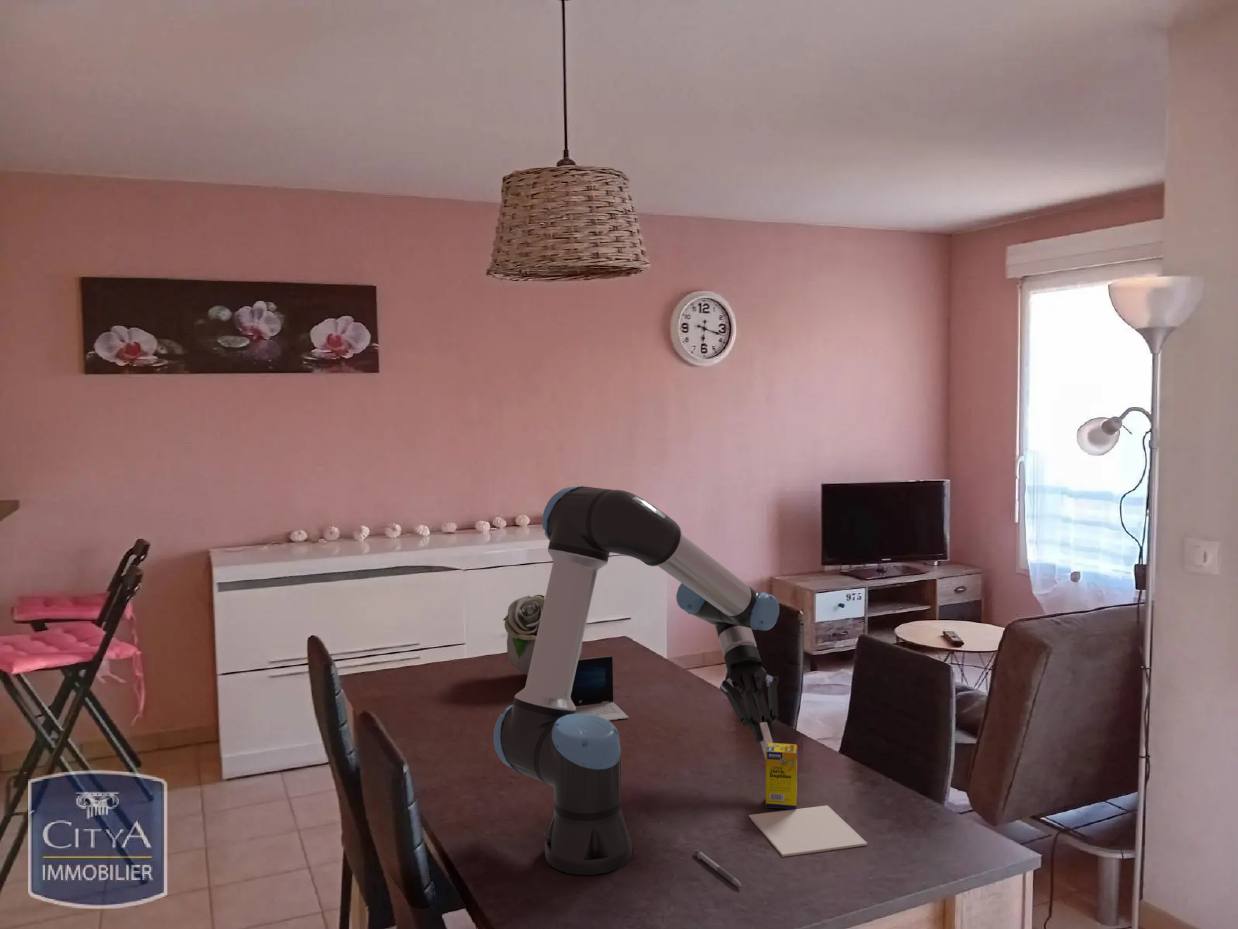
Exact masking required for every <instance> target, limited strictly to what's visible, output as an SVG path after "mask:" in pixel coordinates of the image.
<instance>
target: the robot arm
mask: <svg viewBox="0 0 1238 929" xmlns="http://www.w3.org/2000/svg"><path fill="white" fill-rule="evenodd" d="M541 522H542V523H541V524H542V529H543V530H544V535H545V537H546V538H547V539H548V542H549V543H548V547H547V553H548V554H549V556H550V558H551V559H552V565H551V570H550V574H549V580H548V584H547V589H546V591H545V592H546V594H545V595H544V596H545V601H544V605H543V610H542V614H541V619H540V623H539V628H538V632H537V637H536V641H535V646H534V650H533V655H532V659H531V663H530V668H529V672H528V675H527V678H526V682H525V687H524V688H523V689H521V690H520V691H519V692H517V693H516V694H515V695H514V698H513V702H512V704H511V705H509V706H507V707H506V708H505V709H504V710H503V711H504V712H503V713H500V715H499V716H498V718H497V720H496V721H495V722H496V723H495V726H494V729H493V746H494V750H495V752H496V754H497V756H498V758H499V759H500V761H501V762H502V763H503V764H504V765H505V766H507V767H509V768H511V769H512V770H513V771H515V772H516V773H518V774H519V775H525V776H527V777H530V778H532V779H534V780H537V781H539V782H541V783H544V784H546V785H549V786H550V787H552V788H553V800H554V801H553V802H554V803H553V804H554V809H553V810H554V813H553V816H552V820H551V822H550V825H549V828H548V832H547V836H546V838H545V843H544V856H545V860H546V862H547V863H548V865H550V866H551V867H552V868H554V869H556V870H557V871H559V872H563V873H565V874H570V875H577V876H596V875H602V874H605V873H606V874H607V873H610V872H613V871H616V870H619V869H620V868H622V867H623V866H625V865H626V864H627V863H628V862H629V861H630V859H631V857H632V854H633V853H632V852H633V851H632V847H633V846H632V838H631V835H630V834H629V830H628V827H627V824H626V820H625V817H624V815H623V812H622V800H621V798H622V797H621V796H622V794H621V793H622V790H621V789H622V788H621V785H622V775H621V774H622V768H621V767H622V762H621V761H622V748H621V745H620V744H621V743H620V735H619V731H618V729H617V727H616V726H615V725H614V723H612V721H608V720H606V719H604V718H602V717H599V716H596V715H585V714H575V711H576V707H575V705H574V704H573V702H572V700H571V697H570V696H571V691H572V687H573V682H574V677H575V673H576V668H577V664H578V659H579V654H580V650H581V645H582V646H583V639H584V636H585V635H584V634H585V630H586V627H585V626H587V621H588V617H589V611H590V607H591V603H592V598H593V595H594V594H593V593H594V588H595V584H596V580H597V574H598V572H599V570H601V569H602V568H603V567H605V566H606V565H607V564H608V562H609V558H610V553H611V554H612V553H613V554H618V555H624V556H626V557H631V558H635V559H637V560H639V561H641V562H642V563H644V564H645V565H647V566H649V567H658V568H660V569H661V570H663V571H664V572H665V573H667V574H668V575H669V576H672V577H673V578H674V579H675V580H677V581H678V582H679V583H680V584H679V586H678V588H677V591H676V594H675V595H676V599H675V600H676V603H677V605H678V607H679V608H680V609H682V610H683V611H685V612H686V613H687V614H688V615H692V616H694V617H697V618H698V619H700V620H703V621H705V622H707V623H709V624H711V625H713V626H714V627H715V632H716V634H717V637H718V641H719V645H720V648H721V653H722V655H723V660H724V664H725V667H726V670H727V673H728V674H727V679H726V680H722V681H721V683H720V684H721V685H720V686H719V690H720V691H721V692H722V693H723V694H724V695H725V696H726V698H727V700H728V702H729V703H730V705H731V707H732V709H733V710H734V712H735V714H736V716H737V718H738V719H739V722H740V724H741V726H743V727H747V726H748V727H749V729H750V730H752V732H753V736H754V739H755V741H756V743H760V745H761V749H762V751H763V752H762V754H763V756H764V759H765V760H766V749H767V743H774V739H775V736H776V734H775V730H774V728H773V725H772V724H775V722H776V721H777V720H778V718H779V702H778V686H777V685H778V683H779V680H780V678H779V675H778V676H777V675H774V676H772V675H770V674H768V672H767V671H766V669H764V667H763V662H762V659H761V656H760V652H759V649H758V647H757V642H756V639H755V636H754V632H753V630H755V631H756V630H759V631H769V630H771V629H772V628H774V626H775V624H777V621H778V617H779V615H780V605H779V602H778V599H777V598H776V597H775V596H774V595H773V594H769V593H766V592H763V591H762V592H760V591H758V590H757V591H756V590H754V588H753V587H751V586H749V584H747V583H745V581H743V580H742V579H740V578H739V577H738V576H737V575H735V574H734V573H732V572H731V571H730V570H729V569H728V568H726V567H725V566H724V565H722V564H721V563H720V562H718V561H717V560H716V559H715V558H713V556H711V555H710V554H708V553H707V552H706V551H704V550H703V549H702V548H700V546H698V545H697V544H695V543H694V542H693V541H692V540H691V539H690V538H688V537H687V536H686V535H684V534H682V529H681V527H680V524H678V523H677V521H675V520H674V519H672V518H671V517H670V516H668V515H667V514H666V513H665V512H663V511H662V510H660V509H659V508H658V507H656V506H655V505H653V504H652V503H650V502H648V501H647V500H645V499H644V498H642V497H640V496H638V495H637V494H634V493H632V492H630V491H626V490H621V489H611V488H610V489H607V488H601V487H592V486H585V485H584V486H583V485H581V486H570V487H565V488H562V489H560V490H559V491H557V492H556V493H555V494H553V495H552V496H551V498H550V499H549V500H548V501H547V503H546V504H545V507H544V510H543V513H542V521H541ZM765 682H766V683H765ZM764 683H765V684H766V687H768V688H767V697H768V704H767V701H766V697H765V693H764V688H763V686H764ZM736 689H737V691H739V692H740V695H741V698H740V697H739V694H738V693H737V691H736ZM741 699H742V700H741ZM742 701H743V702H742ZM743 703H744V704H743ZM757 711H758V712H757ZM758 713H759V715H758ZM759 717H760V719H759ZM760 721H761V722H760Z"/></svg>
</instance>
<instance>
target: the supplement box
mask: <svg viewBox="0 0 1238 929" xmlns="http://www.w3.org/2000/svg"><path fill="white" fill-rule="evenodd" d="M797 801H798V744H794V743H793V744H792V743H779V742H778V743H777V742H773V743H767V749H766V759H765V808H773V809H785V810H786V809H787V810H794V809H797Z"/></svg>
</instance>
